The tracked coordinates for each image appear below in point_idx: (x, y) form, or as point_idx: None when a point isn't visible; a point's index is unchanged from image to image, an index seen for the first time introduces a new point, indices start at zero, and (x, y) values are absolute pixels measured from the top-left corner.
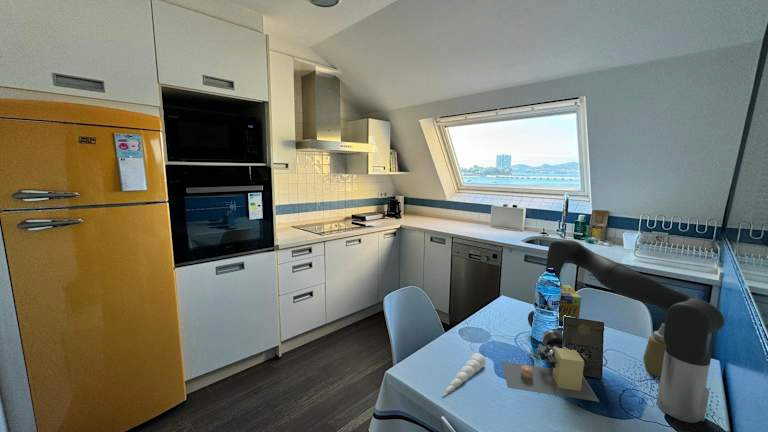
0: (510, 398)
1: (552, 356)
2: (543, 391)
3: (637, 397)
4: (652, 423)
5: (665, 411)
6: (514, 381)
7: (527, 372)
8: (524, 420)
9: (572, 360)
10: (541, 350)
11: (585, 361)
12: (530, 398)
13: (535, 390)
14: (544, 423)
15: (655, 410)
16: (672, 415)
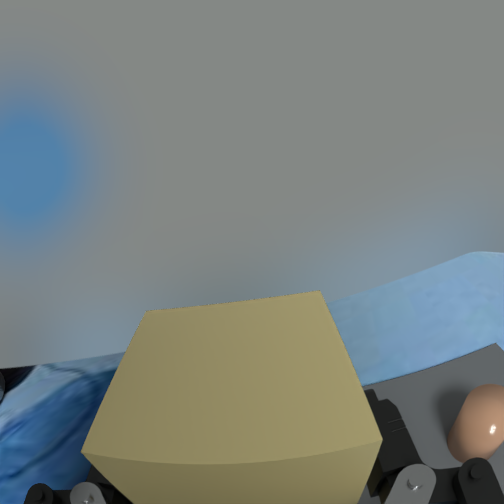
0: (467, 320)
1: (383, 464)
2: (387, 388)
3: (6, 443)
4: (67, 365)
5: (2, 388)
6: (497, 379)
7: (480, 388)
8: (409, 285)
9: (232, 305)
10: (494, 496)
11: (64, 493)
12: (421, 346)
13: (417, 378)
14: (366, 294)
15: (15, 400)
16: (3, 378)
